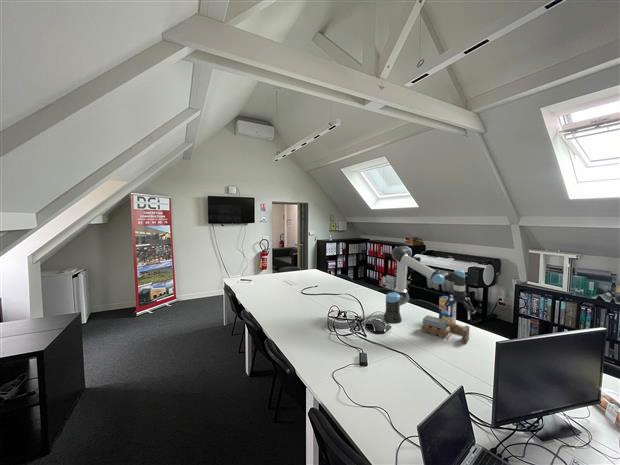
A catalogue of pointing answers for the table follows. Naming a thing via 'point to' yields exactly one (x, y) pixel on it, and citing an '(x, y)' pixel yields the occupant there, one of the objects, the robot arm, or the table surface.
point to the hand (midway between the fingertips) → (458, 317)
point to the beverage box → (443, 310)
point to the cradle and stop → (463, 335)
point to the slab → (436, 322)
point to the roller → (456, 328)
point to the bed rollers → (435, 330)
